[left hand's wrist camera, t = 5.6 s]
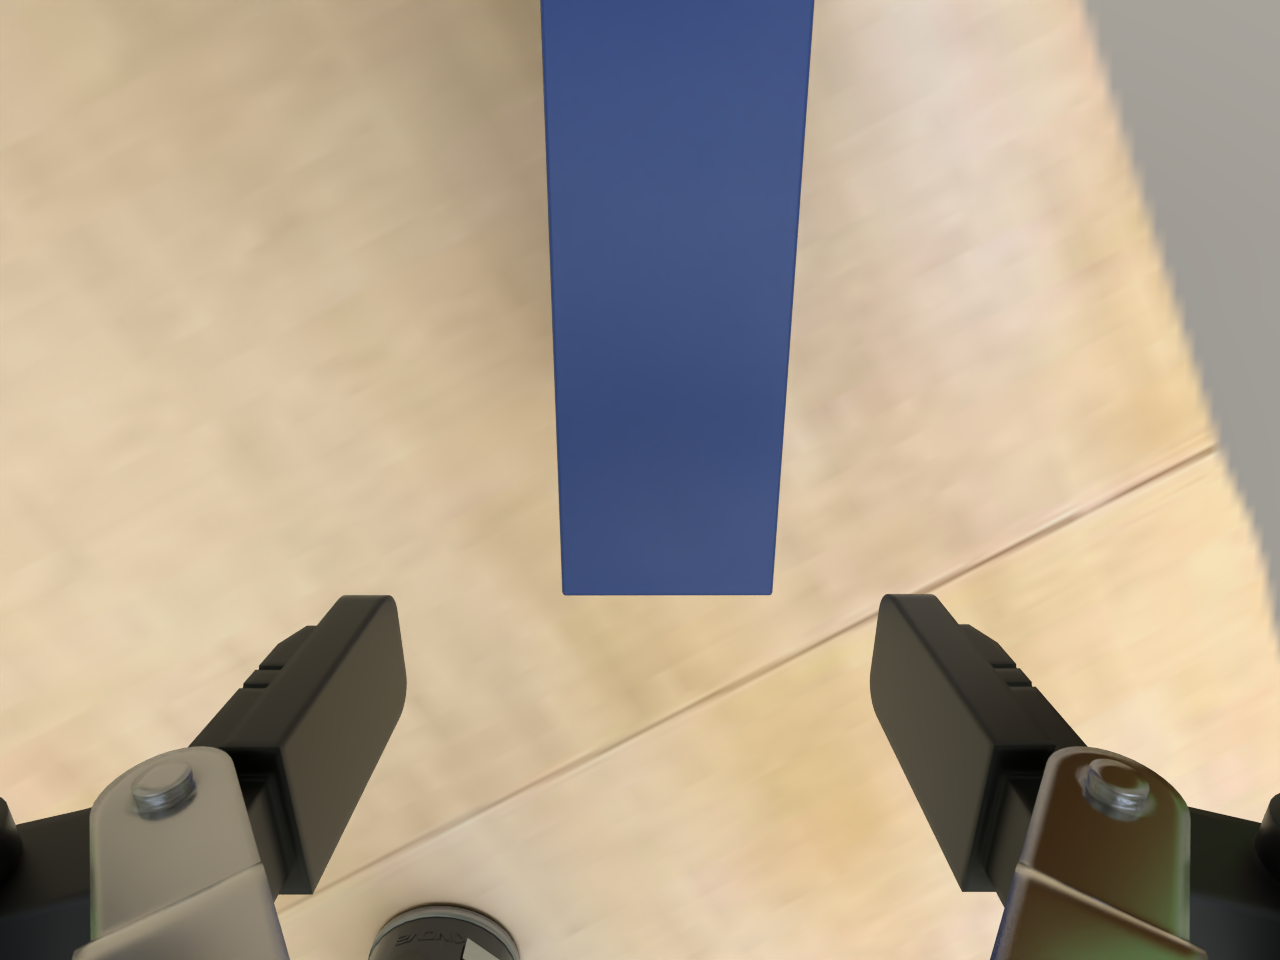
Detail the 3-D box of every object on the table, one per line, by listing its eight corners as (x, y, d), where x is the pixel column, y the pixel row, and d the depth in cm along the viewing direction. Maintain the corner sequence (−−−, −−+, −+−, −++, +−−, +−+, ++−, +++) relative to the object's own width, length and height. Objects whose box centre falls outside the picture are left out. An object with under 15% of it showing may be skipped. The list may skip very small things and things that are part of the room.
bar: (731, 492, 25) (772, 596, 17) (584, 492, 25) (562, 596, 17) (774, -403, 17) (879, -894, 10) (561, -405, 17) (506, -900, 10)
